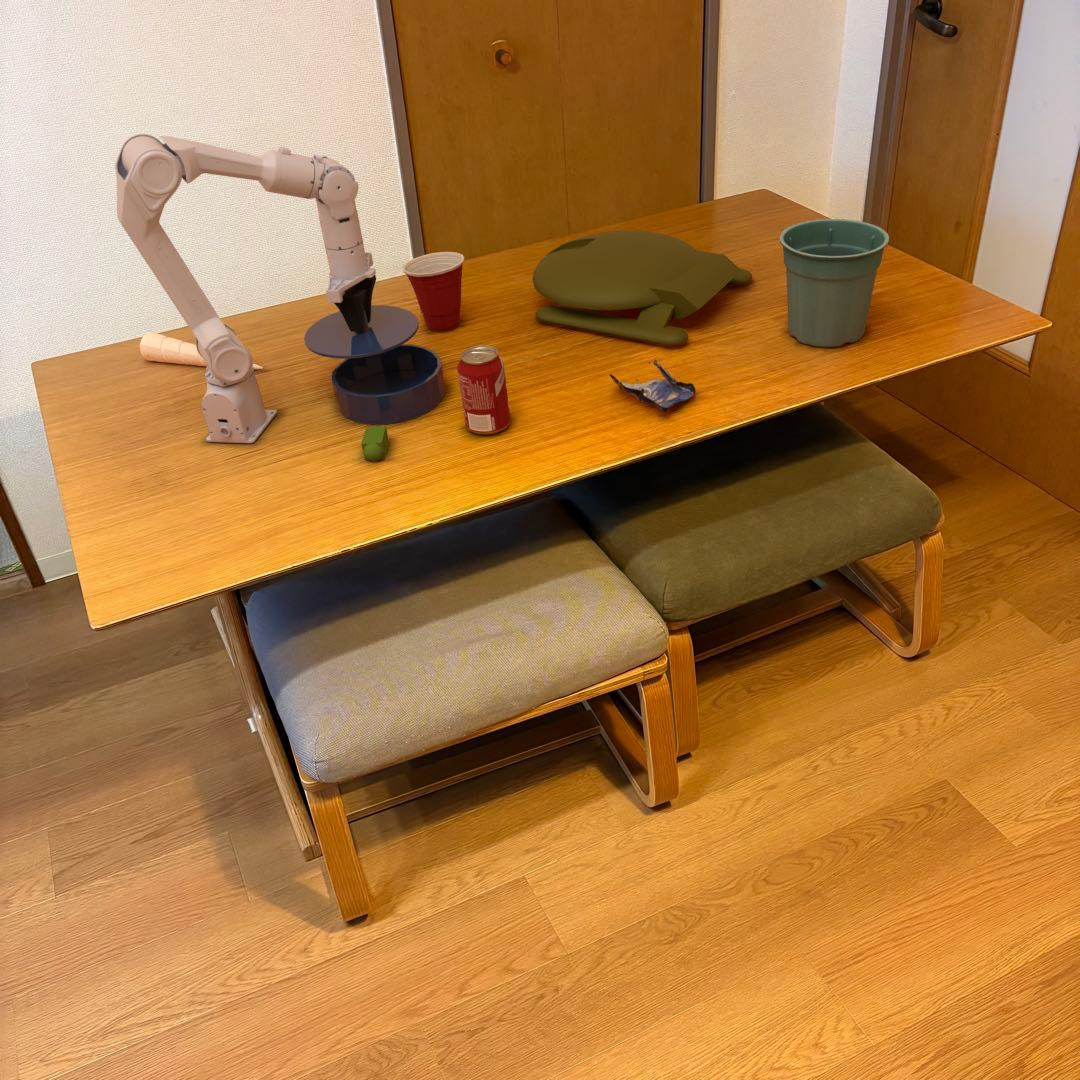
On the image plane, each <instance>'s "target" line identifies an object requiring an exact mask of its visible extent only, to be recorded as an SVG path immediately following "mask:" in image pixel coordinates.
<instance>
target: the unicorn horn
mask: <svg viewBox="0 0 1080 1080" xmlns="http://www.w3.org/2000/svg"><path fill="white" fill-rule="evenodd" d="M139 352H140V354H141V356H142V357H143V359H145V360H146V361H148V362H157V363H159V362H160V363H168V364H178V365H190V366H199V367H207V363H206V362H205V360H204V359H203V358H202V357H201V356H200V354H199V353H198V351H197V348H196V343H191V342H188V341H183V340H181V339H177V338H173V337H171V336H167V335H164V334H160V333H157V332H154V331H151V332H147V333H146V334H145V335H143V336H142V338H141V339H140V343H139ZM253 368H254V370H262V369H264V367H263V366H262V365H258V364H256V363H253Z"/></svg>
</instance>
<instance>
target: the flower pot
mask: <svg viewBox="0 0 1080 1080" xmlns="http://www.w3.org/2000/svg"><path fill="white" fill-rule="evenodd" d="M889 241H890V235H889V234H888V232H886V230H885V229H883V228H882V227H880V226H877V225H875V224H872V223H870V222H869V223H868V222H865V221H860V220H855V219H845V218H823V219H822V218H821V219H813V220H807V221H806V220H805V221H802V222H799V223H798V222H797V223H795V224H793V225H790V226H788V227H786V228H785V229H784V230H783V231H781V233H780V234H779V243H780V245H781V246H782V251H783V264H784V266H785V273H786V274H785V275H786V276H785V277H786V300H787V301H786V302H787V303H786V304H787V306H786V307H787V327H788V328H787V331H788V334H789V335H790V337H793V338H795V339H796V340H797V341H798V342H799V343H801V344H804V345H808V346H812V347H818V348H836V347H842V346H843V345H844V344H846V343H849V344H853V343H857V341H859V340H861V339H862V337H863V336H864V334H865V331H866V326H867V322H868V316H869V311H870V307H871V301H872V296H873V292H874V288H875V282H876V278H877V274H878V269H879V267H880V266H881V264H882V260H883V255H884V251H885V248H886V247H887V246H888V244H889Z"/></svg>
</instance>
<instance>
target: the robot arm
mask: <svg viewBox="0 0 1080 1080" xmlns="http://www.w3.org/2000/svg"><path fill="white" fill-rule="evenodd" d="M158 137H159V139H158V138H157V137H156V136H154V135H151V134H149V133H139V134H138V133H136V134H134V135H131V136H130V137H128V138H127V139H126V140H125V141H124V142H123V143H122V145H121V147H120V150H119V153H118V155H117V157H116V159H115V163H114V171H115V177H116V217H117V219H118V222H119V223H120V225H121V227H122V228H123V230H124V231H125V233H126V234H127V236H128V237H129V239H130V240H131V242H132V243H133V244H134V246H135V248H136V250H137V251H138V252H139V254H140V255H141V257H142V258H143V259H144V261H145V263H146V264H147V266H148V267H149V269H150V270H151V273H152V274H153V275H154V276H155V278H156V279H157V281H158V283H159V284H160V285H161V287H162V288H163V290H164V292H165V293H166V294H167V296H168V298H169V299H170V301H171V302H172V304H173V305H174V306H175V308H176V310H177V311H178V313H179V314H180V316H181V317H182V318H183V320H184V321H185V323H186V325H187V327H189V330H190V331H191V332H192V334H193V336H194V338H195V345H196V348H197V351H198V353H199V354H200V356H201V357H202V358H203V359H204V360H205V362H206V363H207V366H206V369H205V373H204V378H205V381H206V391H205V394H204V396H203V397H202V399H201V404H200V408H201V412H202V414H203V418H204V421H205V425H206V427H207V430H208V435H207V436H206V438H205V441H206V442H209V443H231V444H254V443H255V442H256V441H257V440H258V438H259V437H260V435H261V434H262V433H263V432H264V431H265V430H266V428H267V427H268V425H269V424H270V423H271V422H272V420H273V419H274V417H275V416H276V415H277V414H278V411H277V410H276V409H265V405H264V402H263V397H262V395H261V390H260V386H259V383H258V379H257V376H256V371H255V369H254V368H253V364H254V359H253V355H252V354H251V352H250V350H249V349H248V348H247V347H246V346H245V345H244V344H243V342H242V341H241V340H240V338H239V337H238V335H237V333H236V332H235V329H233V328H232V327H231V326H230V325H228V324H226V323H225V322H223V320H222V319H221V318H220V316H219V314H218V313H217V311H216V309H215V308H214V306H213V305H212V304H211V302H210V300H209V299H208V297H207V296H206V294H205V293H204V291H203V289H202V288H201V286H200V285H199V283H198V282H197V280H196V279H195V277H194V275H193V273H192V272H191V270H190V269H189V267H188V265H187V264H186V263H185V261H184V259H183V258H182V256H181V255H180V253H179V252H178V250H177V248H176V247H175V245H174V244H173V242H172V241H171V239H170V238H169V235H168V234H167V233H166V231H165V229H164V228H163V227H162V225H161V223H160V220H161V217H162V214H163V211H164V208H165V206H166V204H167V203H168V201H169V200H170V199H171V198H172V197H173V195H174V194H175V193H176V192H177V190H178V189H179V186H180V185H181V183H182V180H183V181H184V182H185V183H186V184H187V185H189V184H191V183H192V182H193V181H195V180H196V179H197V178H199V177H200V176H201V175H203V174H207V175H215V176H222V177H229V178H236V179H245V180H249V181H258V182H259V184H260V185H261V187H262V189H263V190H264V191H265V192H267V193H272V194H277V195H283V196H289V197H290V196H291V197H294V198H301V199H305V200H312V199H315V203H316V208H317V212H318V220H319V225H320V230H321V235H322V239H323V244H324V249H325V254H326V259H327V264H328V268H329V274H328V287H327V289H325V293H326V297H327V302H328V303H330V304H331V303H333V304H334V305H335V306H336V308H337V309H338V310H339V311H340V312H341V313H342V315H343V317H344V319H345V321H346V323H347V325H348V327H349V329H350V331H351V332H363V330H364V312H363V308H365V311H366V316H367V321H368V323H370V320H371V305H372V301H373V300H372V299H373V292H374V289H375V285H376V282H377V276H376V274H377V269H376V268H374V267H373V268H372V266H373V265H374V260H373V254H372V252H366V251H365V244H364V239H363V234H362V229H361V224H360V218H359V213H358V209H357V205H356V198H357V196H358V194H359V193H358V192H359V182H358V181H356V178H355V176H354V174H353V172H351V171H350V169H348V168H347V167H345V166H344V165H342V164H341V163H340V162H339V161H337V160H335V159H334V158H333V159H332V158H329V157H328V156H326V155H319V154H314V155H313V156H312V157H311V156H307V155H301V154H296V153H291V152H292V151H291V149H290V148H288V147H285V146H279V147H278V150H276V149H269V150H267V151H266V152H264V153H263V154H261V155H259V156H258V155H254V154H250V153H245V152H241V151H237V150H232V149H228V148H224V147H220V146H216V145H211V144H208V143H203V142H199V141H194V140H190V139H185V138H180V137H179V138H178V137H174V136H168V135H167V136H165V135H159V136H158ZM160 139H161V140H162V141H161V140H160Z"/></svg>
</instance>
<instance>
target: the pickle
mask: <svg viewBox="0 0 1080 1080" xmlns="http://www.w3.org/2000/svg"><path fill="white" fill-rule="evenodd" d="M389 439H390V438H389V434H388V430H387V426H386V425H383V426H382V425H373V426H369V427H365V429H364V434H363V437H362V441H361V442H360V443H361V444H360V445H361V448H362V453H363V457H364V461H370V462H377V461H379V460H385V459H386V457H387V452H388V449H389V444H390V441H389Z"/></svg>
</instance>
